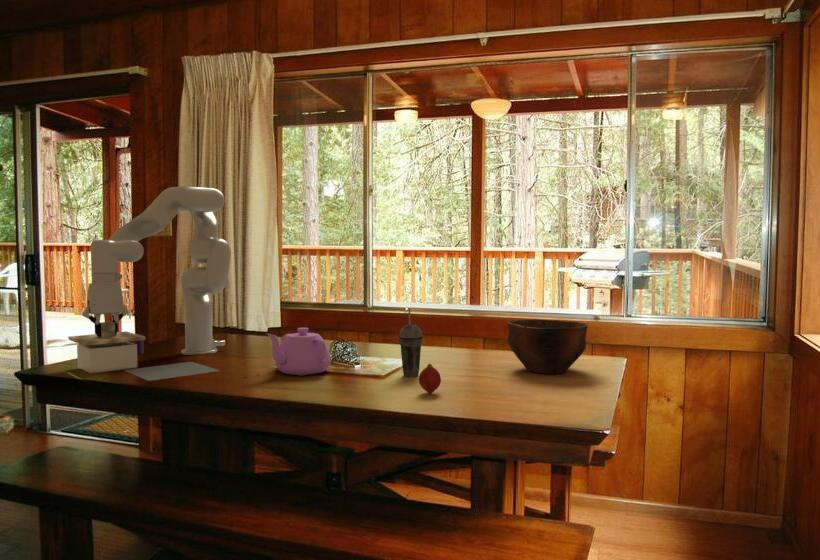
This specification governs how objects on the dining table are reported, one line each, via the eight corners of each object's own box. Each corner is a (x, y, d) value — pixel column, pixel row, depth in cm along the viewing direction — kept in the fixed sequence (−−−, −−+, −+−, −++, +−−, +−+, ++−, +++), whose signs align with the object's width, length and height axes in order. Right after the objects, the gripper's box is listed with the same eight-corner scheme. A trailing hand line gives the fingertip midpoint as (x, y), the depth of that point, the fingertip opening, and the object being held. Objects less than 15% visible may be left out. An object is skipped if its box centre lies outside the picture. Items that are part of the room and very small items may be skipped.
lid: (126, 334, 220) (126, 318, 220) (145, 339, 207) (144, 322, 206) (68, 339, 208) (67, 322, 208) (84, 345, 195) (83, 327, 194)
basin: (123, 363, 218) (122, 339, 217) (137, 369, 207) (136, 344, 207) (77, 368, 209) (77, 344, 208) (90, 375, 198) (89, 349, 198)
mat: (191, 363, 217) (191, 361, 217) (220, 372, 201) (220, 370, 201) (123, 372, 203) (123, 370, 203) (148, 382, 186) (148, 380, 186)
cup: (147, 353, 239) (147, 334, 239) (126, 357, 230) (126, 338, 230) (134, 352, 242) (133, 333, 241) (112, 356, 233) (111, 337, 232)
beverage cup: (426, 374, 197) (425, 308, 195) (418, 378, 190) (418, 310, 189) (403, 372, 199) (403, 307, 198) (395, 377, 192) (394, 310, 191)
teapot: (247, 373, 199) (246, 329, 198) (303, 364, 215) (302, 322, 214) (290, 383, 184) (289, 335, 183) (347, 372, 200) (347, 328, 199)
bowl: (594, 366, 207) (594, 319, 206) (580, 381, 184) (580, 328, 184) (518, 361, 217) (518, 316, 217) (496, 374, 195) (496, 324, 194)
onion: (418, 391, 173) (417, 361, 173) (439, 390, 174) (439, 361, 173) (420, 396, 168) (420, 365, 167) (442, 395, 168) (442, 365, 168)
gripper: (128, 277, 215) (129, 332, 216) (73, 279, 204) (75, 337, 205) (135, 278, 209) (137, 334, 210) (79, 280, 198) (81, 339, 199)
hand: (106, 335), depth 207 cm, fingers closed on lid, 3 cm apart
